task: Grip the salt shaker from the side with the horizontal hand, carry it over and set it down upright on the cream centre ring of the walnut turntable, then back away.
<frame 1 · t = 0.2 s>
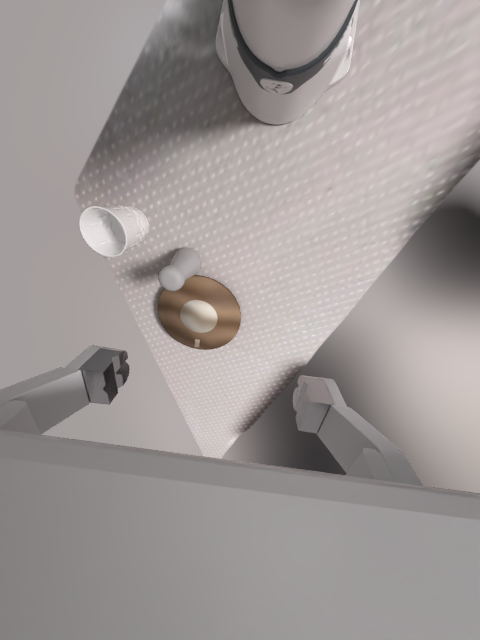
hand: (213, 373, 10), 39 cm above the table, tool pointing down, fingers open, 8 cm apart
salt shaker: (191, 258, 47), on the table
white cup: (133, 224, 45), on the table
turntable: (199, 315, 53), point 2 cm above the table, hinge at 0.0°
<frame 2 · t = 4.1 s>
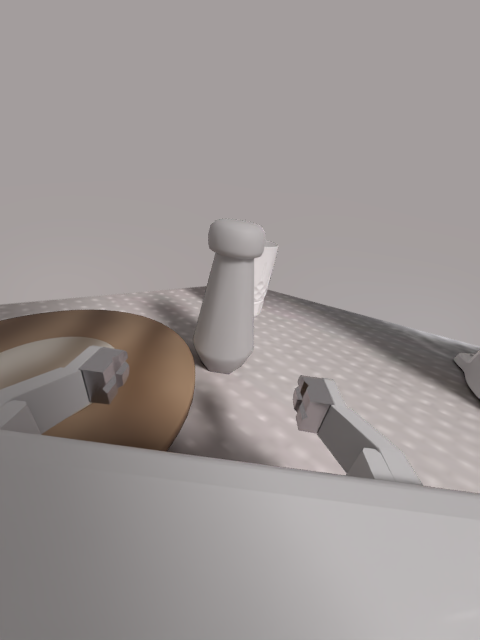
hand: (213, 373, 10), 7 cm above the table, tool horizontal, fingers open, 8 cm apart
salt shaker: (221, 361, 22), on the table
white cup: (238, 309, 34), on the table
turntable: (47, 379, 15), point 2 cm above the table, hinge at 0.0°
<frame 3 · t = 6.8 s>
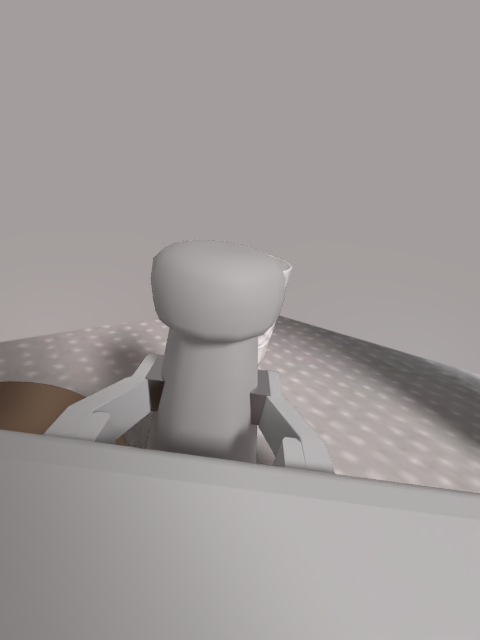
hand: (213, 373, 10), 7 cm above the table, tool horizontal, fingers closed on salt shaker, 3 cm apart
salt shaker: (200, 476, 13), on the table, touching gripper
white cup: (234, 350, 24), on the table
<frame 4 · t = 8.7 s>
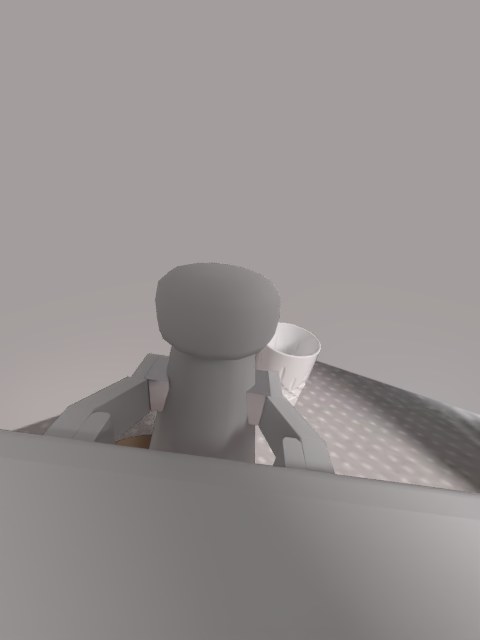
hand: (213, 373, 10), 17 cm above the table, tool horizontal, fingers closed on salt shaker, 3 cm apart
salt shaker: (200, 487, 13), point 9 cm above the table, touching gripper
white cup: (274, 393, 33), on the table
turntable: (121, 578, 15), point 2 cm above the table, hinge at 0.0°
when the fingers open (11 cm above the table, at t = 10.9 s): salt shaker stays where it is, resting on turntable.
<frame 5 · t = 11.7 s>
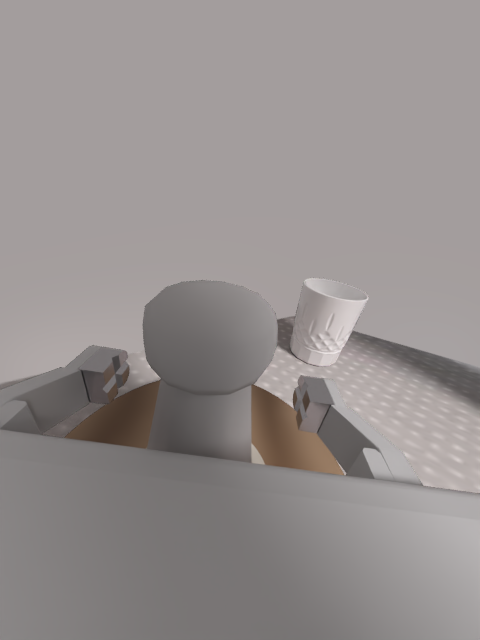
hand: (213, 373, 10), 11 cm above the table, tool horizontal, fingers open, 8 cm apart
salt shaker: (197, 497, 13), point 2 cm above the table, touching turntable
white cup: (311, 353, 32), on the table
turntable: (199, 490, 14), point 2 cm above the table, hinge at 0.0°, touching salt shaker
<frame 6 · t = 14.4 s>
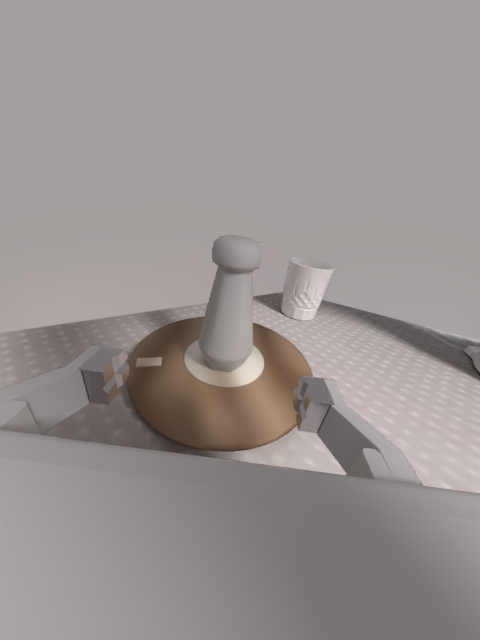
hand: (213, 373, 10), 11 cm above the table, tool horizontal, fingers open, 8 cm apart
salt shaker: (223, 361, 25), point 2 cm above the table, touching turntable
white cup: (296, 313, 44), on the table
turntable: (224, 360, 25), point 2 cm above the table, hinge at 0.0°, touching salt shaker
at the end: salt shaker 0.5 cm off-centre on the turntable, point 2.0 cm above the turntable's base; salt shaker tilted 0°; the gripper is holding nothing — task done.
